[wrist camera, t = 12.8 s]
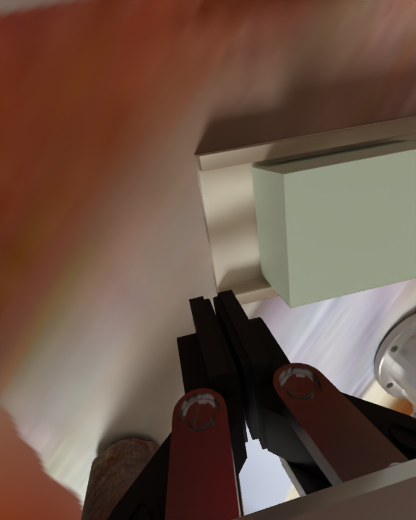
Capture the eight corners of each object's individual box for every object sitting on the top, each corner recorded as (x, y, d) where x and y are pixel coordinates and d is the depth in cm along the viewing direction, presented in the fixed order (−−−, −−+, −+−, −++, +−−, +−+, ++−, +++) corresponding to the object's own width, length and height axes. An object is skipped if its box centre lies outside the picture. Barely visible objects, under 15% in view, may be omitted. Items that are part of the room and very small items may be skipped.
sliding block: (386, 245, 26) (445, 271, 21) (261, 273, 25) (290, 308, 20) (396, 140, 23) (470, 138, 17) (251, 167, 22) (283, 174, 16)
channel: (500, 227, 29) (605, 252, 23) (216, 291, 26) (238, 343, 20) (534, 94, 25) (680, 75, 18) (194, 154, 22) (212, 159, 15)
